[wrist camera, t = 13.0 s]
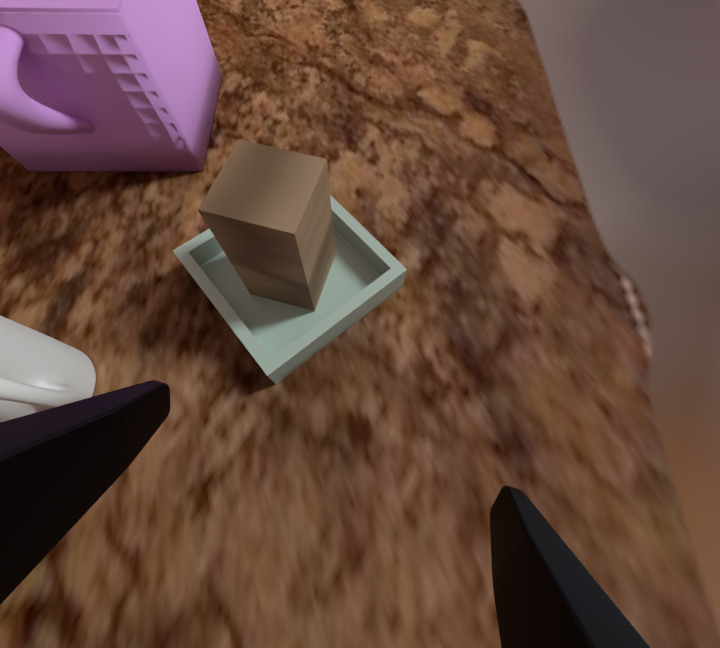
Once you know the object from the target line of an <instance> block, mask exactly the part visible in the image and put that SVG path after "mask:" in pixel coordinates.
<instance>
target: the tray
mask: <svg viewBox="0 0 720 648" xmlns="http://www.w3.org/2000/svg"><path fill="white" fill-rule="evenodd" d="M330 200H331V212H332V223H333V234H334V246H335V257H334V260H333V263H332V266H331V268H330V271H329V274H328V277H327V279H326V282H325V285H324V287H323V290H322V293H321V296H320V298H319V301H318V304H317V307H316V309H315V311H312V310H308V309H304V308H301V307H297V306H293V305H289V304H286V303H282V302H278V301H274V300H271V299H267V298H263V297H260V296H256V295H252V294H250V293H249V291H248V289H247V288H246V286H245V285H244V283H243V281H242V280H241V278H240V277H239V275H238V273H237V272H236V270H235V269H234V267H233V265H232V264H231V262H230V261H229V259H228V257H227V256H226V254H225V253H224V251H223V249H222V248H221V246H220V245H219V243H218V241H217V240H216V238H215V237H214V235H213V233H212V232H211V230H210V229H208V230H206V231H205V232H203V233H201V234H200V235H198V236H196V237H195V238H193V239H191V240H190V241H188V242H186V243H185V244H183V245H181V246H180V247H178V248H176V249H174V250H173V252H174V253H175V255H176V256H177V257H178V259H179V260H180V261H181V263H182V264H183V265H184V267H185V268H186V269H187V271H188V272H189V273H190V275H191V276H192V277H193V279H194V280H195V281H196V282H197V284H198V285H199V286H200V288H201V289H202V290H203V292H204V293H205V294H206V296H207V297H208V298H209V300H210V301H211V302H212V304H213V305H214V306H215V308H216V309H217V310H218V312H219V313H220V314H221V315H222V317H223V318H224V319H225V321H226V322H227V323H228V325H229V326H230V327H231V329H232V330H233V331H234V333H235V334H236V335H237V337H238V338H239V339H240V341H241V342H242V343H243V345H244V346H245V347H246V349H247V350H248V351H249V352H250V354H251V355H252V356H253V358H254V359H255V360H256V362H257V363H258V364H259V366H260V367H261V368H262V370H263V371H264V372H265V374H266V375H267V376H268V377H269V378H270V379H271V380H272V381H273V382H274V383H275V384H277V383H279V382H280V381H281V380H282V379H284V378H285V377H286V376H288V375H289V374H290V373H291V372H293V371H294V370H295V369H297V368H298V367H299V366H300V365H302V364H303V363H304V362H306V361H307V360H308V359H309V358H311V357H312V356H313V355H315V354H316V353H317V352H319V351H320V350H321V349H322V348H324V347H325V346H326V345H328V344H329V343H330V342H331V341H333V340H334V339H335V338H337V337H338V336H339V335H340V334H342V333H343V332H344V331H346V330H347V329H348V328H349V327H351V326H352V325H353V324H355V323H356V322H357V321H358V320H360V319H361V318H362V317H364V316H365V315H366V314H368V313H369V312H370V311H371V310H373V309H374V308H375V307H377V306H378V305H379V304H380V303H382V302H383V301H384V300H386V299H387V298H388V297H389V296H391V295H392V294H393V293H395V292H396V291H397V290H398V289H400V288H401V287H402V286H403V282H404V279H405V275H406V272H407V269H406V268H405V267H404V266H403V265H402V264H401V263H400V262H399V261H398V260H397V259H396V258H395V257H394V256H393V255H392V254H390V253H389V252H388V251H387V250H386V249H385V248H384V247H383V246H382V245H381V244H380V243H379V242H378V241H377V240H376V239H375V238H374V237H373V236H372V235H371V234H370V233H369V232H368V231H367V230H366V229H365V228H364V227H363V226H362V225H361V224H360V223H359V222H358V221H357V220H356V219H354V218H353V217H352V216H351V215H350V214H349V213H348V212H347V211H346V210H345V209H344V208H343V207H342V206H341V205H340V204H339V203H338V202H337V201H336V200H335V199H334V198H333V197H332V196H331V195H330Z"/></svg>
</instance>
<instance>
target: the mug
mask: <svg viewBox="0 0 720 648" xmlns="http://www.w3.org/2000/svg"><path fill="white" fill-rule="evenodd" d="M95 382H96V375H95V369H94V366H93V364H92V362H91V360H90V359H89V358H88V357H87V356H86V355H85V354H84V353H83V352H81V351H79V350H78V349H75V348H73V347H71V346H69V345H66V344H64V343H62V342H60V341H58V340H55V339H53V338H51V337H49V336H47V335H45V334H42V333H40V332H37V331H35V330H33V329H30V328H28V327H26V326H23V325H21V324H19V323H16V322H14V321H12V320H9V319H7V318H5V317H2V316H0V422H4V421H7V420H11V419H15V418H18V417H22V416H25V415H29V414H33V413H36V412H40V411H43V410H47V409H51V408H54V407H58V406H61V405H65V404H69V403H72V402H76V401H79V400H83V399H87V398H90V397H92V395H93V392H94V388H95Z"/></svg>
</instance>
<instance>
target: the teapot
mask: <svg viewBox="0 0 720 648" xmlns="http://www.w3.org/2000/svg"><path fill="white" fill-rule="evenodd" d="M221 83H222V75H221V72H220V69H219V66H218V63H217V60H216V57H215V54H214V51H213V48H212V45H211V43H210V40H209V37H208V34H207V31H206V28H205V25H204V22H203V19H202V16H201V13H200V10H199V8H198V5H197V2H196V0H0V146H1V147H2V148H3V149H4V150H5V151H7V152H8V153H9V154H10V155H11V156H12V157H13V158H14V159H16V160H17V161H18V162H19V163H20V164H21V165H22V166H23V167H25V168H26V169H27V170H28V171H29V172H203V169H204V165H205V160H206V155H207V150H208V145H209V140H210V136H211V131H212V126H213V121H214V116H215V111H216V107H217V102H218V97H219V92H220V87H221Z"/></svg>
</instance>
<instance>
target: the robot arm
mask: <svg viewBox="0 0 720 648" xmlns="http://www.w3.org/2000/svg"><path fill="white" fill-rule="evenodd" d="M169 411H170V388H169V386H168V385H167V384H166V383H162V382H159V381H155V380H152V381H148V382H144V383H140V384H137V385H133V386H130V387H126V388H122V389H119V390H115V391H112V392H108V393H105V394H101V395H97V396H94V397H90V398H87V399H83V400H79V401H76V402H72V403H69V404H65V405H61V406H58V407H54V408H51V409H47V410H43V411H40V412H36V413H33V414H29V415H25V416H22V417H18V418H15V419H11V420H7V421H4V422H0V604H1V603H2V602H3V601H4V600H5V599H6V598H7V597H8V596H9V595H10V594H11V593H12V592H13V590H14V589H15V588H16V587H17V586H18V585H19V584H20V583H21V582H22V581H23V580H24V579H25V578H26V576H27V575H28V574H29V573H30V572H31V571H32V570H33V569H34V568H35V567H36V566H37V565H38V564H39V562H40V561H41V560H42V559H43V558H44V557H45V556H46V555H47V554H48V553H49V552H50V551H51V550H52V548H53V547H54V546H55V545H56V544H57V543H58V542H59V541H60V540H61V539H62V538H63V537H64V536H65V535H66V533H67V532H68V531H69V530H70V529H71V528H72V527H73V526H74V525H75V524H76V523H77V522H78V521H79V519H80V518H81V517H82V516H83V515H84V514H85V513H86V512H87V511H88V510H89V509H90V508H91V507H92V505H93V504H94V503H95V502H96V501H97V500H98V499H99V498H100V497H101V496H102V495H103V494H104V493H105V491H106V490H107V489H108V488H109V487H110V486H111V485H112V484H113V483H114V482H115V481H116V480H117V479H118V477H119V476H120V475H121V474H122V473H123V472H124V471H125V470H126V469H127V468H128V466H129V465H130V464H131V463H132V462H133V460H134V459H135V458H136V457H137V455H138V454H139V453H140V451H141V450H142V449H143V447H144V446H145V445H146V444H147V442H148V441H149V440H150V438H151V437H152V436H153V435H154V433H155V432H156V431H157V429H158V428H159V427H160V425H161V424H162V423H163V422H164V420H165V419H166V418H167V416H168V414H169ZM490 532H491V556H492V578H493V589H494V598H495V605H496V612H497V619H498V626H499V633H500V640H501V647H502V648H650V647H649V645H648V644H647V643H646V642H645V641H644V639H643V638H642V637H641V636H640V634H639V633H638V632H637V631H636V629H635V628H634V627H633V626H632V625H631V623H630V622H629V621H628V620H627V618H626V617H625V616H624V615H623V614H622V612H621V611H620V610H619V609H618V607H617V606H616V605H615V604H614V602H613V601H612V600H611V599H610V598H609V596H608V595H607V594H606V593H605V591H604V590H603V589H602V588H601V587H600V585H599V584H598V583H597V582H596V580H595V579H594V578H593V577H592V575H591V574H590V573H589V572H588V571H587V569H586V568H585V567H584V566H583V564H582V563H581V562H580V561H579V560H578V558H577V557H576V556H575V555H574V553H573V552H572V551H571V550H570V548H569V547H568V546H567V545H566V544H565V542H564V541H563V540H562V539H561V537H560V536H559V535H558V534H557V532H556V531H555V530H554V529H553V528H552V526H551V525H550V524H549V523H548V521H547V520H546V519H545V518H544V517H543V515H542V514H541V513H540V512H539V510H538V509H537V508H536V507H535V505H534V504H533V503H532V502H531V501H530V499H529V498H528V497H527V496H526V494H525V493H524V492H523V491H522V490H520V489H516V488H513V487H510V486H504V487H503V488H502V489H501V491H500V492H499V494H498V496H497V498H496V500H495V502H494V504H493V506H492V508H491V511H490Z"/></svg>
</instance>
